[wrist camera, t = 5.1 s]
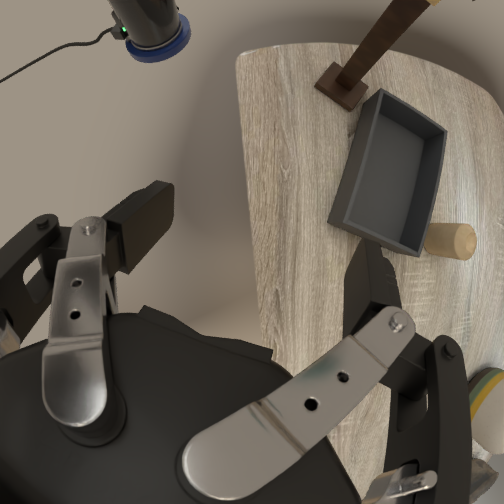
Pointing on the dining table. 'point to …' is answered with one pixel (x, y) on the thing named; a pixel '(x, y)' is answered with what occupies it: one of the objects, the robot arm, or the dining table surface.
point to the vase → (488, 409)
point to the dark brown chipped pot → (481, 479)
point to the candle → (451, 240)
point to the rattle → (433, 2)
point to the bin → (391, 175)
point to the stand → (369, 53)
